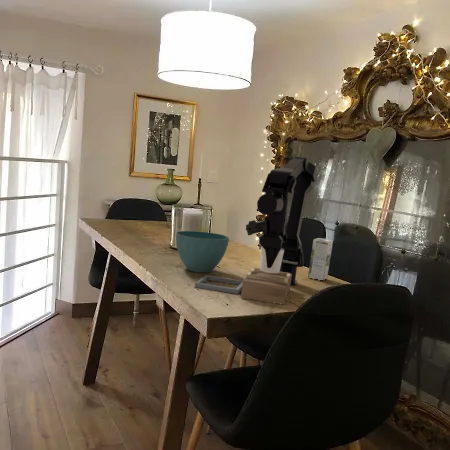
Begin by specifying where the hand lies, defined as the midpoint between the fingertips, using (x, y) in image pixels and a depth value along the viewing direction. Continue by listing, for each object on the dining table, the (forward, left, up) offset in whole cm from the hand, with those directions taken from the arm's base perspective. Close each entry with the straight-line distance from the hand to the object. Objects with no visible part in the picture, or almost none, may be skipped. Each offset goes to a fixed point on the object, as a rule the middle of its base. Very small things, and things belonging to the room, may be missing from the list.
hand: (270, 265), depth 143 cm
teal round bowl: (-18, -26, -9) cm, 33 cm away
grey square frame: (0, -14, -8) cm, 16 cm away
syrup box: (-35, +14, -9) cm, 39 cm away
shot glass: (0, 0, -2) cm, 2 cm away
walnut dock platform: (0, 0, -8) cm, 8 cm away
